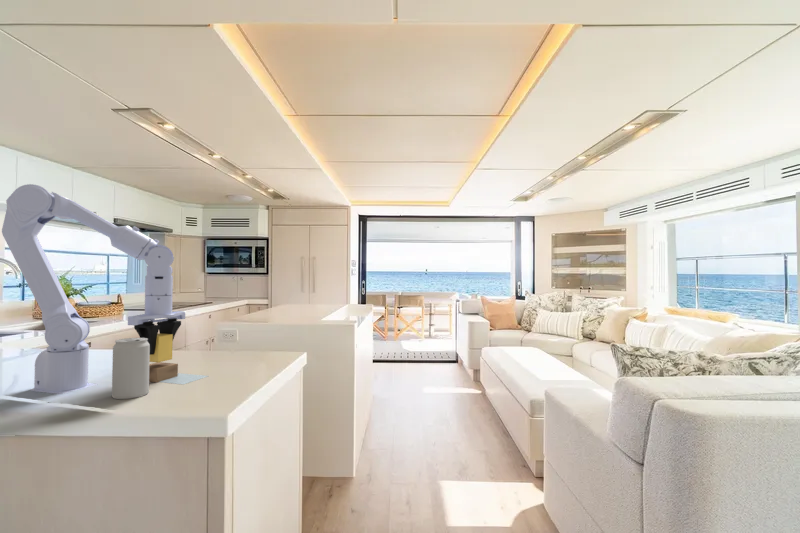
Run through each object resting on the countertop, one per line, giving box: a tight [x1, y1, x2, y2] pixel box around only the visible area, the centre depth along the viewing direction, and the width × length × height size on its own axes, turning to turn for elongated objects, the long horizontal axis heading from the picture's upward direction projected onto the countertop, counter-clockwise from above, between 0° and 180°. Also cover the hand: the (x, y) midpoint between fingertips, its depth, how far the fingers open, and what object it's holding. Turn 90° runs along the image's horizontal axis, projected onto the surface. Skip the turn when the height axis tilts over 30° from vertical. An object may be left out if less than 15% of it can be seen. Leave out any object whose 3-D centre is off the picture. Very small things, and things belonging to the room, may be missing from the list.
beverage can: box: [111, 337, 150, 400], centre depth 85 cm, size 6×6×12 cm
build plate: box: [159, 372, 209, 385], centre depth 98 cm, size 12×8×1 cm, turn 74°
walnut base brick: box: [149, 361, 179, 383], centre depth 98 cm, size 6×6×3 cm
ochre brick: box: [149, 332, 174, 363], centre depth 98 cm, size 4×4×6 cm
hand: (157, 352), depth 98 cm, fingers closed on ochre brick, 4 cm apart
